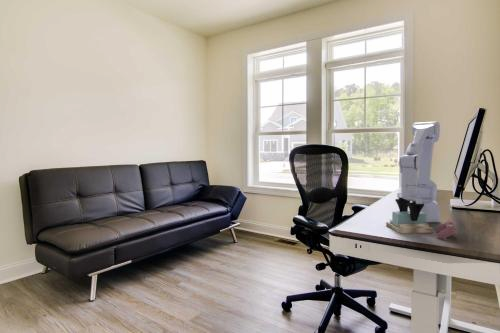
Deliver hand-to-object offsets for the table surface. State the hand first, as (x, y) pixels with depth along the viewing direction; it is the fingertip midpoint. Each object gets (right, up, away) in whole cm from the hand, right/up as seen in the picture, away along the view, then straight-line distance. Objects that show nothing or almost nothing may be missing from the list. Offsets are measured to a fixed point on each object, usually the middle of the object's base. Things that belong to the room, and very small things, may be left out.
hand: (408, 218), depth 119 cm
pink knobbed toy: (+8, -5, -10) cm, 14 cm away
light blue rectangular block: (0, -3, 0) cm, 3 cm away
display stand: (0, -4, 0) cm, 4 cm away
